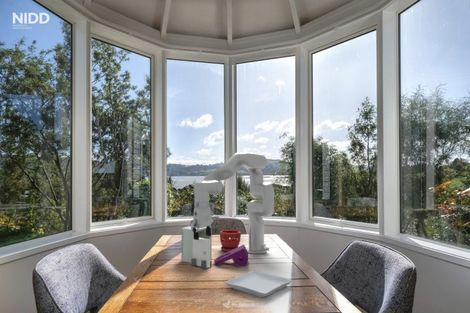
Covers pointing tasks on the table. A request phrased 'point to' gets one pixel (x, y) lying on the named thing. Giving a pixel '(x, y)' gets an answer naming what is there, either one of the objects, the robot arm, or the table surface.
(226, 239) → the plant pot
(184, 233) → the cabinet
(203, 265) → the hinge clips
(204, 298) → the table surface
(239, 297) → the table surface
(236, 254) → the mounting bracket
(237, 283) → the salad plate
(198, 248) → the door
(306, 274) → the table surface
